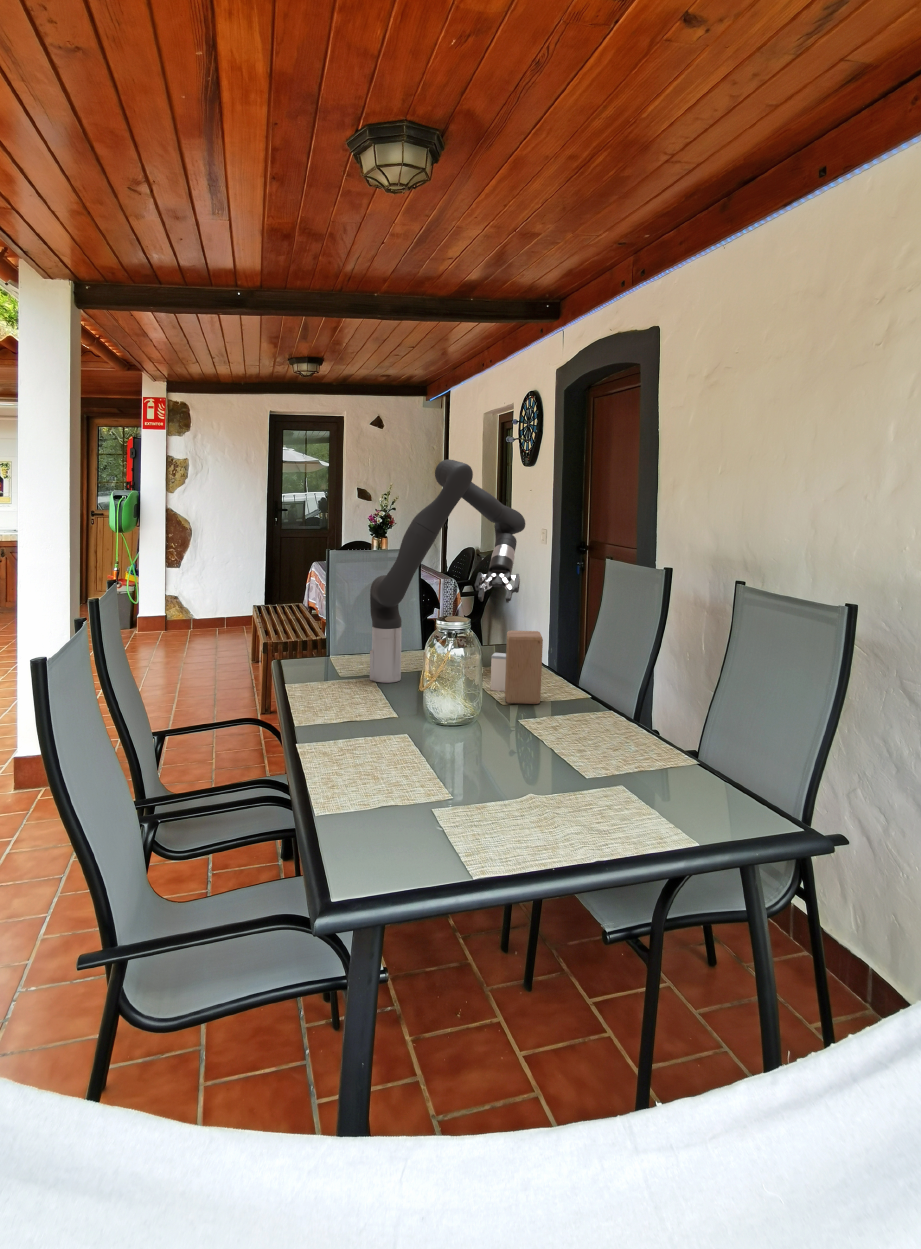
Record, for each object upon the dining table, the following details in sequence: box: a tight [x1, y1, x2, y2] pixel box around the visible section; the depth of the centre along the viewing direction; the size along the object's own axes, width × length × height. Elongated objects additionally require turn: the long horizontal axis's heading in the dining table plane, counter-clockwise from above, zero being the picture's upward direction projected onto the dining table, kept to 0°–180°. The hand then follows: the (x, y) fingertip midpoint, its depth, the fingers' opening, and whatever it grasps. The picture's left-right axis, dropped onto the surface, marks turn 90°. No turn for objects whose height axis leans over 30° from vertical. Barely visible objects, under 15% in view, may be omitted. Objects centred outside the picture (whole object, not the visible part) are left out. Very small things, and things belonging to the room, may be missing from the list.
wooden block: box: [504, 629, 544, 705], centre depth 237 cm, size 10×10×20 cm
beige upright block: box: [490, 652, 506, 692], centre depth 251 cm, size 5×5×11 cm
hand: (494, 600), depth 260 cm, fingers open, 8 cm apart
